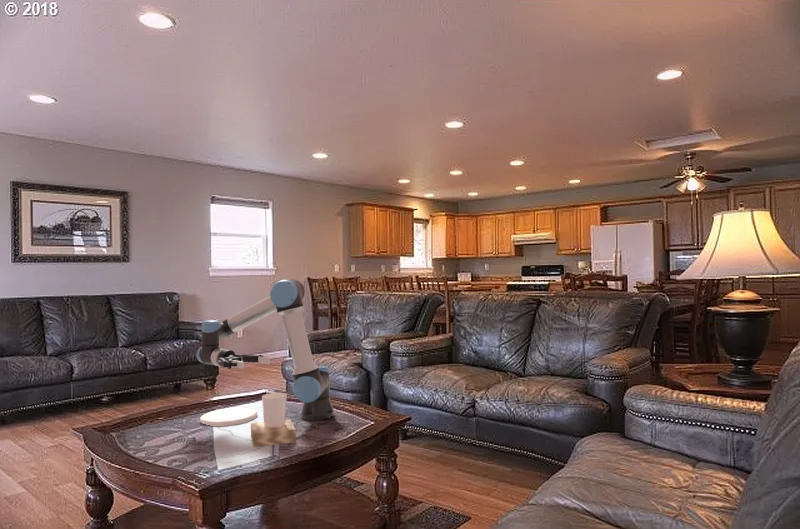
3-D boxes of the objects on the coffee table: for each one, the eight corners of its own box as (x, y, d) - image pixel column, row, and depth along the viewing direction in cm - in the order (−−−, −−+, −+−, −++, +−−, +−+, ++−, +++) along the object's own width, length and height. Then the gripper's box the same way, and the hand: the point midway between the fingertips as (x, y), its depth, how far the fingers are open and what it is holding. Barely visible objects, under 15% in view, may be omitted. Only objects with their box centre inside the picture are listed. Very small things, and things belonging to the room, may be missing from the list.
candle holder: (282, 428, 216) (281, 398, 216) (258, 428, 218) (258, 398, 218) (290, 421, 226) (290, 392, 226) (267, 421, 227) (267, 392, 228)
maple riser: (290, 431, 230) (290, 419, 230) (295, 442, 215) (295, 429, 215) (251, 435, 225) (250, 423, 225) (253, 447, 210) (253, 433, 210)
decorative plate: (231, 401, 270) (267, 407, 257) (231, 410, 270) (267, 416, 257) (187, 413, 249) (225, 420, 236) (188, 422, 249) (225, 430, 236)
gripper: (246, 363, 249) (279, 368, 237) (198, 370, 228) (231, 376, 216) (247, 346, 249) (279, 350, 237) (199, 352, 229) (231, 357, 216)
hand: (256, 363), depth 226 cm, fingers open, 13 cm apart
